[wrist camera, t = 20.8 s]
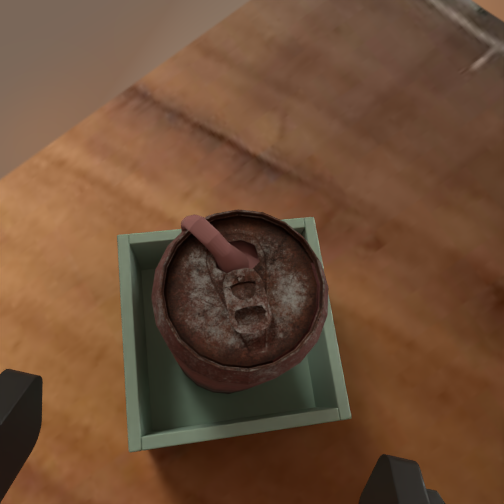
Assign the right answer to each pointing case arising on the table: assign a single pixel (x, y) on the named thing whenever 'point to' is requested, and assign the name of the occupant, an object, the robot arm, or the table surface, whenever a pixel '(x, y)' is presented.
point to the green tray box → (197, 398)
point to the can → (239, 299)
